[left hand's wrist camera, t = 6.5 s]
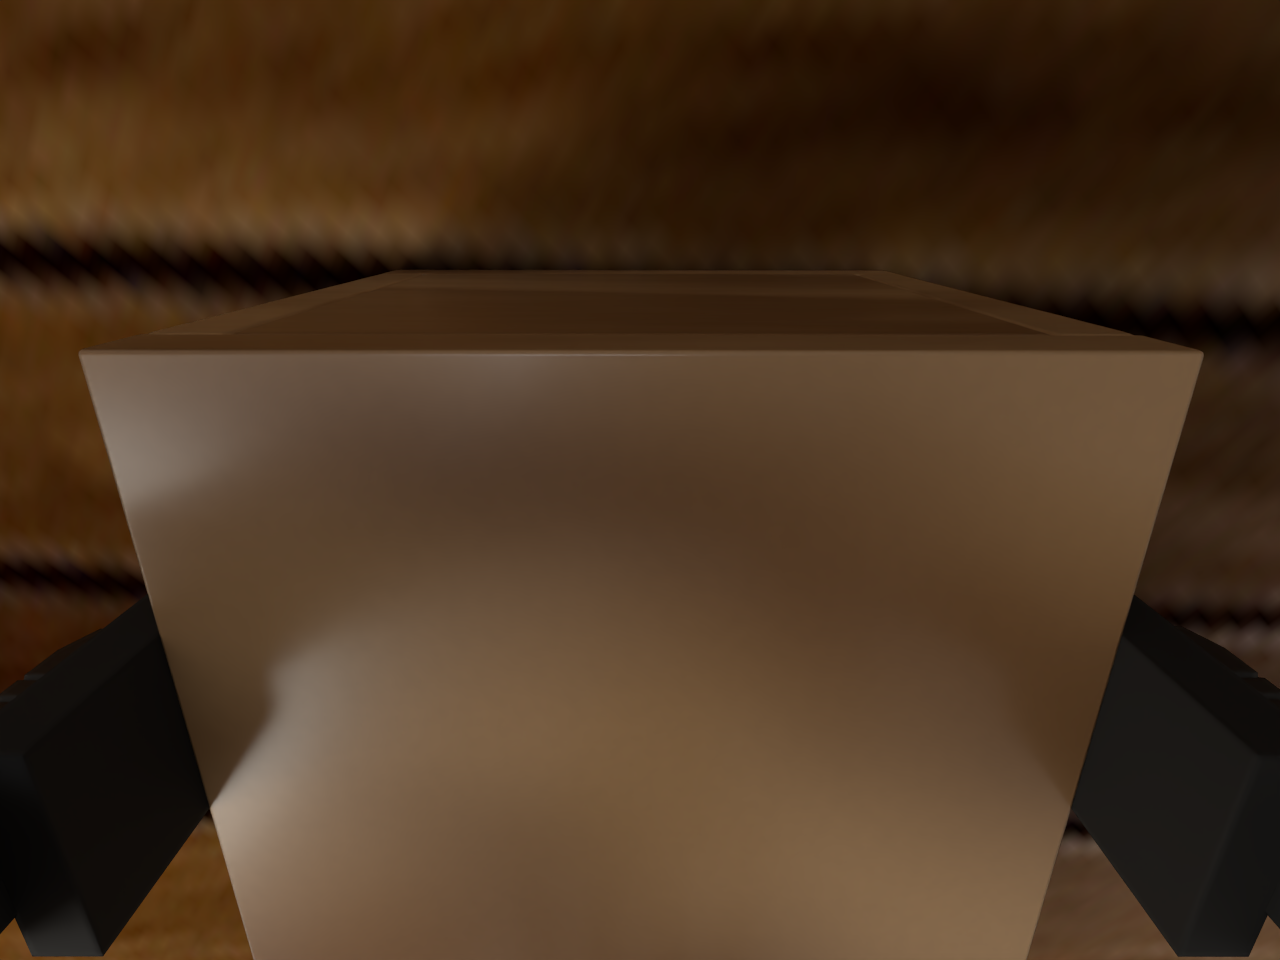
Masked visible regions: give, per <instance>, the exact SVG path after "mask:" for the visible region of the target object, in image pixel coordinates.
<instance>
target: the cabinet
mask: <svg viewBox="0 0 1280 960" xmlns="http://www.w3.org/2000/svg"><path fill="white" fill-rule="evenodd" d="M79 357H80V361H81V364H82V368H83V371H84V375H85V378H86V382H87V385H88V389H89V392H90V395H91V399H92V402H93V406H94V409H95V413H96V416H97V420H98V423H99V427H100V430H101V433H102V437H103V440H104V444H105V447H106V451H107V454H108V458H109V461H110V465H111V468H112V471H113V475H114V478H115V482H116V485H117V489H118V492H119V496H120V499H121V503H122V506H123V510H124V513H125V516H126V520H127V523H128V527H129V530H130V534H131V537H132V541H133V544H134V548H135V551H136V554H137V558H138V561H139V565H140V568H141V572H142V575H143V579H144V582H145V586H146V589H147V592H148V596H149V599H150V603H151V606H152V610H153V613H154V617H155V620H156V624H157V627H158V630H159V634H160V637H161V641H162V644H163V648H164V651H165V655H166V658H167V662H168V665H169V669H170V672H171V675H172V679H173V682H174V686H175V689H176V693H177V696H178V700H179V703H180V707H181V710H182V713H183V717H184V720H185V724H186V727H187V731H188V734H189V738H190V741H191V745H192V748H193V751H194V755H195V758H196V762H197V765H198V769H199V772H200V776H201V779H202V783H203V786H204V789H205V793H206V796H207V800H208V803H209V807H210V810H211V814H212V817H213V821H214V824H215V827H216V831H217V834H218V838H219V841H220V845H221V848H222V852H223V855H224V859H225V862H226V866H227V869H228V872H229V876H230V879H231V883H232V886H233V890H234V893H235V897H236V900H237V904H238V907H239V910H240V914H241V917H242V921H243V924H244V928H245V931H246V935H247V938H248V942H249V945H250V948H251V952H252V955H253V959H254V960H1027V957H1028V954H1029V950H1030V947H1031V943H1032V940H1033V937H1034V933H1035V930H1036V926H1037V923H1038V920H1039V916H1040V913H1041V909H1042V906H1043V902H1044V899H1045V896H1046V892H1047V889H1048V885H1049V882H1050V879H1051V875H1052V872H1053V868H1054V865H1055V862H1056V858H1057V855H1058V851H1059V848H1060V844H1061V841H1062V838H1063V834H1064V831H1065V827H1066V824H1067V821H1068V817H1069V814H1070V810H1071V807H1072V804H1073V800H1074V797H1075V793H1076V790H1077V787H1078V783H1079V780H1080V776H1081V773H1082V769H1083V766H1084V763H1085V759H1086V756H1087V752H1088V749H1089V746H1090V742H1091V739H1092V735H1093V732H1094V729H1095V725H1096V722H1097V718H1098V715H1099V711H1100V708H1101V705H1102V701H1103V698H1104V694H1105V691H1106V688H1107V684H1108V681H1109V677H1110V674H1111V671H1112V667H1113V664H1114V660H1115V657H1116V654H1117V650H1118V647H1119V643H1120V640H1121V636H1122V633H1123V630H1124V626H1125V623H1126V619H1127V616H1128V613H1129V609H1130V606H1131V602H1132V599H1133V596H1134V592H1135V589H1136V585H1137V582H1138V578H1139V575H1140V572H1141V568H1142V565H1143V561H1144V558H1145V555H1146V551H1147V548H1148V544H1149V541H1150V538H1151V534H1152V531H1153V527H1154V524H1155V521H1156V517H1157V514H1158V510H1159V507H1160V503H1161V500H1162V497H1163V493H1164V490H1165V486H1166V483H1167V480H1168V476H1169V473H1170V469H1171V466H1172V463H1173V459H1174V456H1175V452H1176V449H1177V445H1178V442H1179V439H1180V435H1181V432H1182V428H1183V425H1184V422H1185V418H1186V415H1187V411H1188V408H1189V405H1190V401H1191V398H1192V394H1193V391H1194V388H1195V384H1196V381H1197V377H1198V374H1199V370H1200V367H1201V364H1202V360H1203V357H1204V355H1203V352H1202V351H1199V350H1196V349H1193V348H1189V347H1185V346H1181V345H1177V344H1173V343H1169V342H1165V341H1161V340H1157V339H1153V338H1149V337H1145V336H1134V335H1132V334H1130V333H1126V332H1122V331H1118V330H1114V329H1110V328H1106V327H1102V326H1099V325H1095V324H1091V323H1087V322H1083V321H1079V320H1075V319H1071V318H1067V317H1063V316H1059V315H1055V314H1051V313H1048V312H1044V311H1040V310H1036V309H1032V308H1028V307H1024V306H1020V305H1016V304H1012V303H1008V302H1004V301H1000V300H997V299H993V298H989V297H985V296H981V295H977V294H973V293H969V292H965V291H961V290H957V289H953V288H949V287H946V286H942V285H938V284H934V283H930V282H926V281H922V280H918V279H914V278H910V277H906V276H902V275H898V274H896V273H892V272H888V271H884V270H395V271H391V272H387V273H384V274H380V275H376V276H372V277H368V278H364V279H360V280H356V281H352V282H348V283H344V284H340V285H337V286H333V287H329V288H325V289H321V290H317V291H313V292H309V293H305V294H301V295H297V296H293V297H289V298H285V299H281V300H277V301H273V302H269V303H265V304H261V305H258V306H254V307H250V308H246V309H242V310H238V311H234V312H230V313H226V314H222V315H218V316H214V317H210V318H206V319H202V320H198V321H194V322H190V323H186V324H182V325H179V326H175V327H171V328H167V329H163V330H159V331H155V332H151V333H149V334H140V335H136V336H132V337H128V338H124V339H120V340H116V341H112V342H108V343H104V344H100V345H96V346H92V347H88V348H84V349H82V350H80V351H79Z"/></svg>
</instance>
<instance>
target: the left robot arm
mask: <svg viewBox="0 0 1280 960" xmlns="http://www.w3.org/2000/svg"><path fill="white" fill-rule="evenodd" d="M24 676H25V678H24V680H18V681H16V682H15V683H14V684H12V685H11V686H10V687H8V688H7V689H6V690H4V691H3V692H2V693H0V934H1V932H2V931H3V930H4V929H5V928H6V927H7V926H8V925H9V923H10V922H11V921H12V920H13V919H14V918H15V919H16V921H17V924H18V926H19V928H20V930H21V932H22V935H23V937H24V939H25V941H26V943H27V946H28V948H29V950H30V952H31V954H32V956H104V954H105V953H106V951H107V950H108V949H109V947H110V946H111V944H112V943H113V942H114V940H115V939H116V937H117V936H118V935H119V933H120V932H121V931H122V929H123V928H124V926H125V925H126V924H127V922H128V921H129V919H130V918H131V917H132V915H133V914H134V912H135V911H136V910H137V908H138V907H139V905H140V904H141V903H142V901H143V900H144V898H145V897H146V896H147V894H148V893H149V892H150V890H151V889H152V887H153V886H154V885H155V883H156V882H157V880H158V879H159V878H160V876H161V875H162V873H163V872H164V871H165V869H166V868H167V866H168V865H169V864H170V862H171V861H172V860H173V858H174V857H175V855H176V854H177V853H178V851H179V850H180V848H181V847H182V846H183V844H184V843H185V841H186V840H187V839H188V837H189V836H190V834H191V833H192V832H193V830H194V829H195V828H196V826H197V825H198V823H199V822H200V821H201V819H202V818H203V816H204V815H205V814H206V812H207V811H208V809H209V808H210V807H209V803H208V800H207V796H206V793H205V789H204V786H203V783H202V779H201V776H200V772H199V769H198V765H197V762H196V758H195V755H194V751H193V748H192V745H191V741H190V738H189V734H188V731H187V727H186V724H185V720H184V717H183V713H182V710H181V707H180V703H179V700H178V696H177V693H176V689H175V686H174V682H173V679H172V675H171V672H170V669H169V665H168V662H167V658H166V655H165V651H164V648H163V644H162V641H161V637H160V634H159V630H158V627H157V624H156V620H155V617H154V613H153V610H152V606H151V603H150V599H149V596H148V594H147V595H146V596H145V597H143V598H142V599H141V600H139V601H138V602H137V603H136V604H134V605H133V606H132V607H130V608H129V609H128V610H127V611H125V612H124V613H123V614H121V615H120V616H119V617H118V618H116V619H115V620H114V621H113V622H111V623H110V624H109V625H107V626H106V627H105V628H104V629H99V630H97V631H95V632H93V633H91V634H89V635H87V636H85V637H83V638H81V639H79V640H77V641H75V642H73V643H71V644H69V645H67V646H65V647H63V648H61V649H59V650H57V651H56V652H55V653H53V654H52V655H51V656H49V657H48V658H47V659H45V660H44V661H43V662H41V663H40V664H39V665H37V666H36V667H35V668H33V669H32V670H31V671H30V672H28V673H27V674H26V675H24ZM1071 808H1072V810H1073V811H1074V813H1075V814H1076V815H1077V817H1078V818H1079V819H1080V821H1081V822H1082V824H1083V825H1084V826H1085V828H1086V829H1087V831H1088V832H1089V833H1090V835H1091V836H1092V838H1093V839H1094V840H1095V842H1096V843H1097V845H1098V846H1099V847H1100V849H1101V850H1102V851H1103V853H1104V854H1105V856H1106V857H1107V858H1108V860H1109V861H1110V863H1111V864H1112V865H1113V867H1114V868H1115V870H1116V871H1117V872H1118V874H1119V875H1120V877H1121V878H1122V879H1123V881H1124V882H1125V883H1126V885H1127V886H1128V888H1129V889H1130V890H1131V892H1132V893H1133V895H1134V896H1135V897H1136V899H1137V900H1138V902H1139V903H1140V904H1141V906H1142V907H1143V909H1144V910H1145V911H1146V913H1147V914H1148V915H1149V917H1150V918H1151V920H1152V921H1153V922H1154V924H1155V925H1156V927H1157V928H1158V929H1159V931H1160V932H1161V934H1162V935H1163V936H1164V938H1165V939H1166V941H1167V942H1168V943H1169V945H1170V946H1171V947H1172V949H1173V950H1174V952H1175V953H1176V954H1177V956H1178V957H1249V955H1250V953H1251V950H1252V948H1253V946H1254V944H1255V942H1256V939H1257V937H1258V935H1259V933H1260V931H1261V928H1262V926H1263V924H1264V922H1265V920H1266V917H1267V915H1268V916H1269V917H1270V918H1271V919H1272V920H1273V922H1274V923H1275V924H1276V925H1277V926H1278V927H1279V928H1280V689H1279V688H1277V687H1276V686H1275V685H1273V684H1272V683H1271V682H1269V681H1268V680H1267V679H1265V678H1259V677H1258V673H1257V672H1256V671H1255V670H1253V669H1252V668H1251V667H1249V666H1248V665H1247V664H1245V663H1244V662H1243V661H1241V660H1240V659H1239V658H1237V657H1236V656H1235V655H1233V654H1232V653H1231V652H1229V651H1228V650H1227V649H1225V648H1224V647H1222V646H1220V645H1218V644H1216V643H1214V642H1212V641H1210V640H1208V639H1206V638H1204V637H1202V636H1200V635H1198V634H1196V633H1194V632H1192V631H1190V630H1188V629H1186V628H1184V627H1182V626H1173V625H1172V624H1171V623H1170V622H1168V621H1167V620H1166V619H1164V618H1163V617H1162V616H1161V615H1159V614H1158V613H1157V612H1156V611H1154V610H1153V609H1152V608H1150V607H1149V606H1148V605H1147V604H1145V603H1144V602H1143V601H1141V600H1140V599H1139V598H1138V597H1136V596H1135V595H1134V596H1133V599H1132V602H1131V606H1130V609H1129V613H1128V616H1127V619H1126V623H1125V626H1124V630H1123V633H1122V636H1121V640H1120V643H1119V647H1118V650H1117V654H1116V657H1115V660H1114V664H1113V667H1112V671H1111V674H1110V677H1109V681H1108V684H1107V688H1106V691H1105V694H1104V698H1103V701H1102V705H1101V708H1100V711H1099V715H1098V718H1097V722H1096V725H1095V729H1094V732H1093V735H1092V739H1091V742H1090V746H1089V749H1088V752H1087V756H1086V759H1085V763H1084V766H1083V769H1082V773H1081V776H1080V780H1079V783H1078V787H1077V790H1076V793H1075V797H1074V800H1073V804H1072V807H1071Z"/></svg>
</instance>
